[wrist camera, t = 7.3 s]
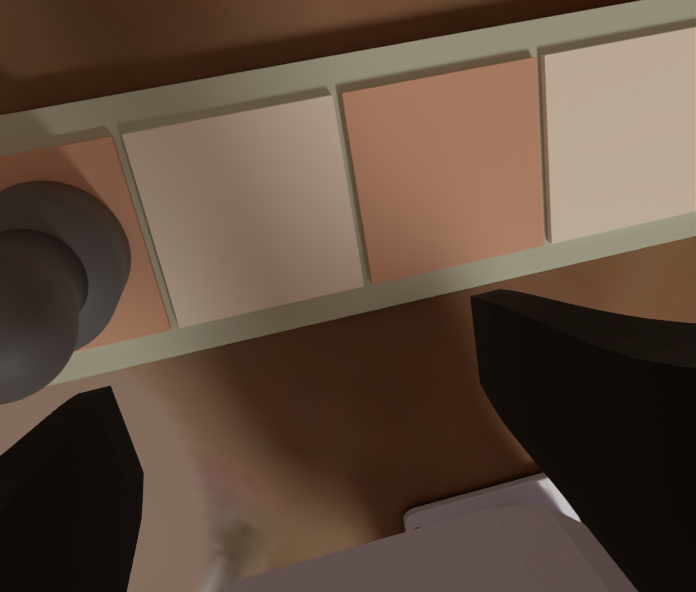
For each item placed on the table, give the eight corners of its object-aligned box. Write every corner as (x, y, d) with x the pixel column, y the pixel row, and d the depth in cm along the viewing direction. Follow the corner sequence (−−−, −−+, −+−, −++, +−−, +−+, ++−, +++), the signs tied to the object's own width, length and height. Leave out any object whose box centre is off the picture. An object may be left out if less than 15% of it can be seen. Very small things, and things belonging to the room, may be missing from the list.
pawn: (148, 306, 20) (113, 428, 13) (3, 338, 19) (-109, 482, 13) (104, 166, 18) (39, 228, 12) (-57, 197, 18) (-223, 280, 11)
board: (701, 225, 24) (722, 232, 23) (-21, 391, 21) (-34, 408, 20) (716, -14, 21) (741, -18, 20) (-137, 139, 18) (-158, 144, 17)
